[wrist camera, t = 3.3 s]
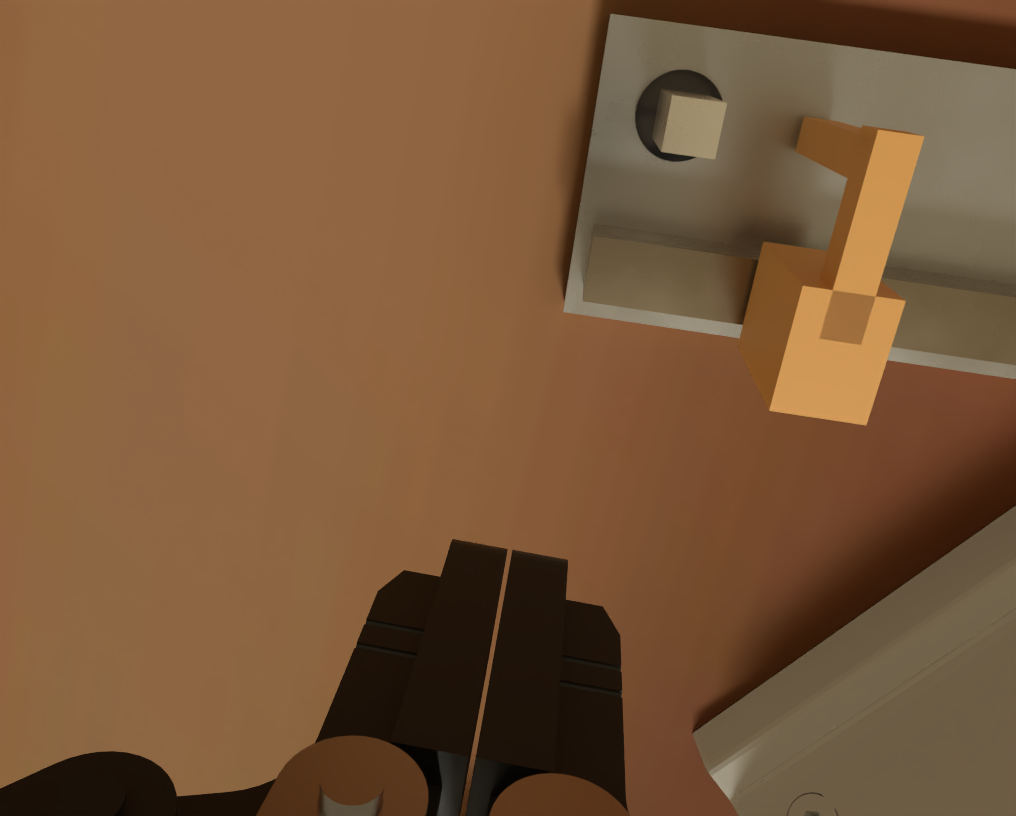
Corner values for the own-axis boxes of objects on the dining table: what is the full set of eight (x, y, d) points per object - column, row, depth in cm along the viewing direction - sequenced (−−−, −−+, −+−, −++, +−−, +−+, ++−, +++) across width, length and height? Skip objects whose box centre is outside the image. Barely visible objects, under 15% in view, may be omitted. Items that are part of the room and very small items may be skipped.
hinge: (1036, 490, 31) (1284, 741, 23) (1087, 544, 33) (1327, 788, 25) (684, 738, 36) (785, 1008, 28) (749, 769, 39) (858, 1026, 31)
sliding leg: (728, 328, 28) (769, 410, 21) (781, 105, 25) (845, 125, 19) (803, 339, 28) (866, 425, 21) (864, 117, 25) (957, 140, 19)
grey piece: (564, 302, 30) (558, 351, 25) (609, 15, 26) (614, 7, 21) (1125, 385, 29) (1232, 451, 24) (1250, 103, 25) (1403, 115, 21)
